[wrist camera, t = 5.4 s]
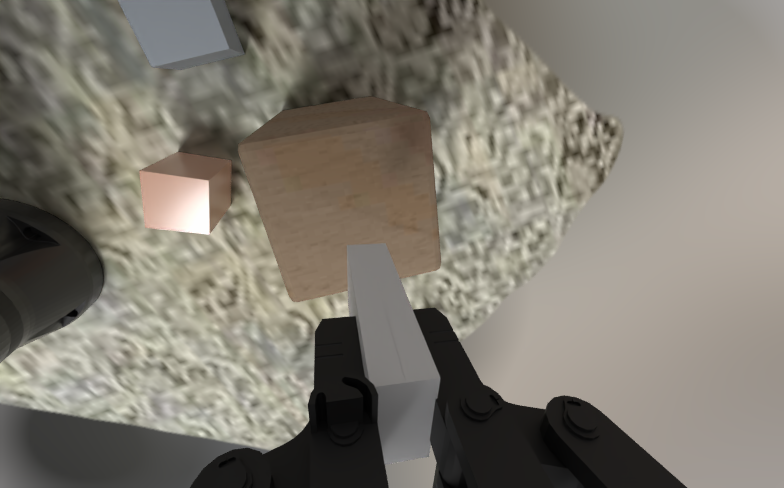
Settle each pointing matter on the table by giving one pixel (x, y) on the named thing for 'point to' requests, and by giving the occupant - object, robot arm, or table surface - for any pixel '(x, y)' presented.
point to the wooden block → (344, 189)
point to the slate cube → (183, 31)
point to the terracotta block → (186, 192)
